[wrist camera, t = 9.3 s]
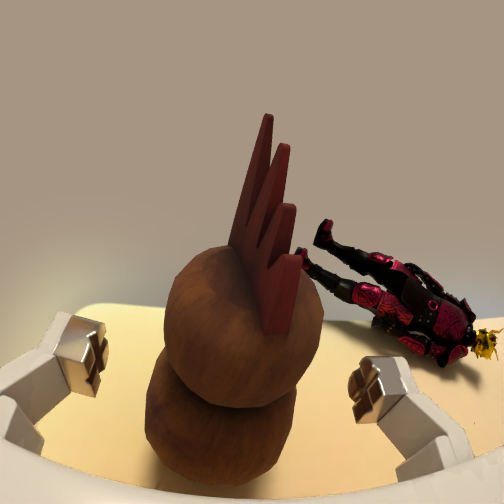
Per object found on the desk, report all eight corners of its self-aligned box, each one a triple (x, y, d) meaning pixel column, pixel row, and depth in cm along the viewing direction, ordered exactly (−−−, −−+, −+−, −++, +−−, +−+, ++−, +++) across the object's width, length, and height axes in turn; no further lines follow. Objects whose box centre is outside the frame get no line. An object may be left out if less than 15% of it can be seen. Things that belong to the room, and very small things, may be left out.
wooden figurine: (172, 380, 17) (205, 96, 9) (268, 403, 17) (377, 141, 9) (137, 480, 11) (72, 125, 3) (255, 508, 11) (492, 234, 3)
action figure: (346, 174, 28) (517, 272, 21) (334, 215, 32) (486, 301, 26) (259, 295, 21) (491, 420, 14) (258, 326, 26) (450, 430, 19)
